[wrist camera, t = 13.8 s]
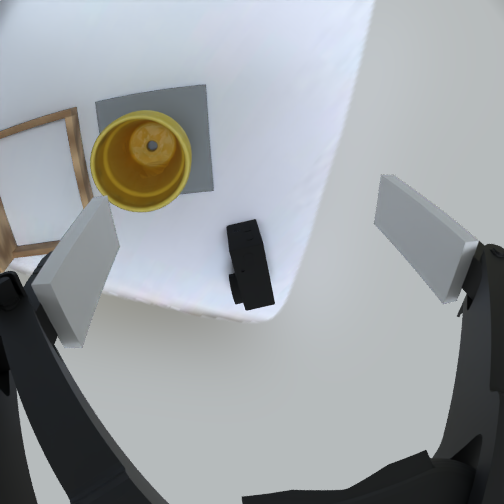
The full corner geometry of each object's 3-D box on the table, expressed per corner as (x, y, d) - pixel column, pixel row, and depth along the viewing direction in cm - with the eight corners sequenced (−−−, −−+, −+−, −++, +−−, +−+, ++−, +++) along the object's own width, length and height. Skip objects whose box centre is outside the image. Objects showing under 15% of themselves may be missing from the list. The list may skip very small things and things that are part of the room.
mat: (96, 101, 33) (95, 102, 32) (205, 84, 34) (205, 84, 33) (113, 200, 40) (112, 202, 40) (213, 189, 41) (213, 190, 41)
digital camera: (217, 226, 45) (219, 253, 39) (255, 218, 45) (263, 243, 39) (233, 283, 50) (237, 313, 44) (267, 275, 50) (275, 304, 44)
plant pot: (172, 194, 40) (163, 229, 32) (103, 162, 37) (76, 189, 28) (210, 126, 36) (210, 142, 28) (136, 90, 32) (113, 96, 24)
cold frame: (-21, 139, 31) (-100, 185, 16) (76, 106, 32) (-3, 137, 17) (12, 252, 41) (-39, 325, 26) (104, 240, 43) (64, 327, 28)
